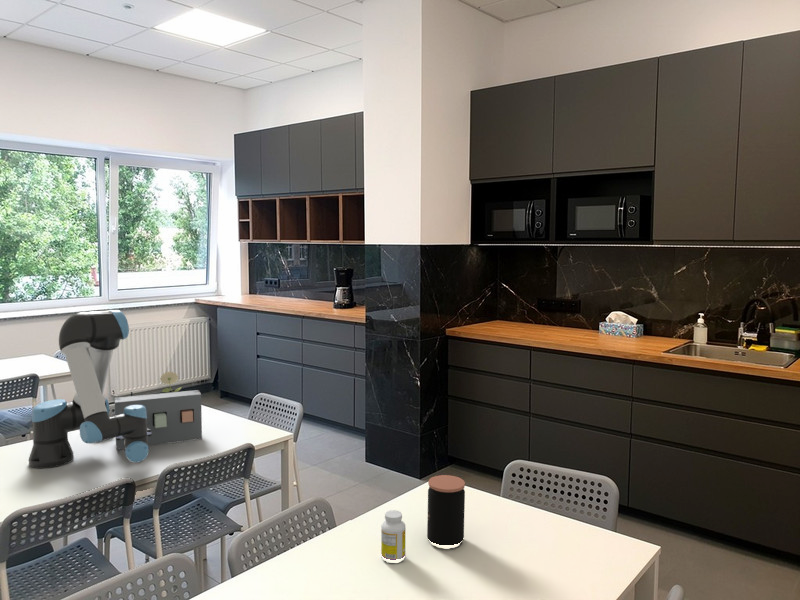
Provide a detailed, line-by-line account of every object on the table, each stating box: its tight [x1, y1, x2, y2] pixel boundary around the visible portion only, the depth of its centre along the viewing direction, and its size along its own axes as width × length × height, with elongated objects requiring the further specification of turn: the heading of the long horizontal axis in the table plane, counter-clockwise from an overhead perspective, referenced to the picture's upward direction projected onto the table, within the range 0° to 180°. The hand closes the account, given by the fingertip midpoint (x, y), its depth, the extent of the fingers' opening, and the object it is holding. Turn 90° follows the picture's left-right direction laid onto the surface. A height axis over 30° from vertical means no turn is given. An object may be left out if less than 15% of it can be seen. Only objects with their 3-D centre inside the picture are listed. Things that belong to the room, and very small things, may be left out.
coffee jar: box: [426, 474, 466, 545], centre depth 174 cm, size 11×11×18 cm
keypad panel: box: [113, 389, 203, 451], centre depth 257 cm, size 34×8×20 cm, turn 117°
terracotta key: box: [180, 409, 193, 423], centre depth 260 cm, size 4×7×4 cm, turn 27°
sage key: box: [154, 412, 167, 428], centre depth 252 cm, size 4×7×4 cm, turn 27°
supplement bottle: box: [380, 509, 406, 560], centre depth 164 cm, size 7×7×13 cm
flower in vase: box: [159, 371, 182, 393], centre depth 283 cm, size 13×11×25 cm
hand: (131, 423), depth 247 cm, fingers closed
